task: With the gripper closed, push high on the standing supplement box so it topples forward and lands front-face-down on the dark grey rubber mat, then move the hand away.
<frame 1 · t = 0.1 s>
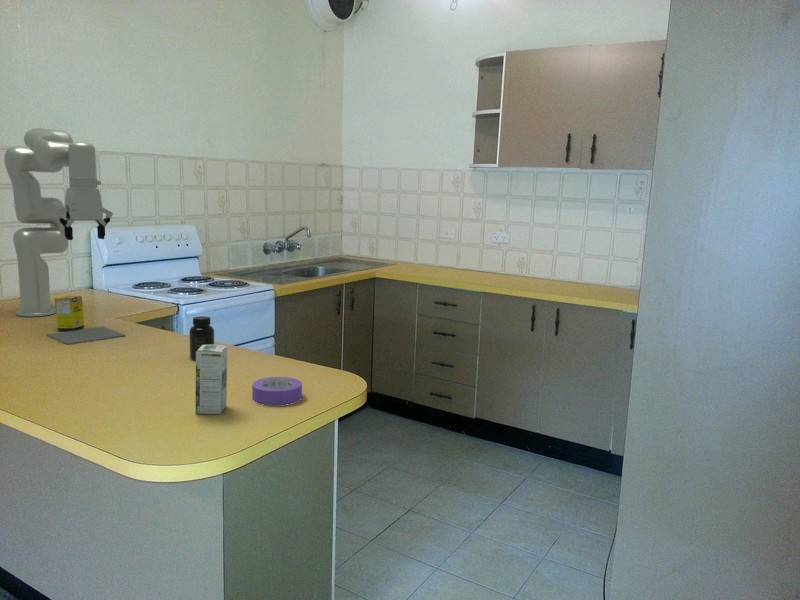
hand: (85, 239, 196), 31 cm above the table, tool pointing down, fingers open, 9 cm apart
supplement box: (71, 329, 208), on the table, touching mat
mat: (86, 335, 200), on the table
masking tape: (277, 399, 150), on the table
syrup box: (211, 411, 139), on the table
supplement bottle: (202, 358, 181), on the table
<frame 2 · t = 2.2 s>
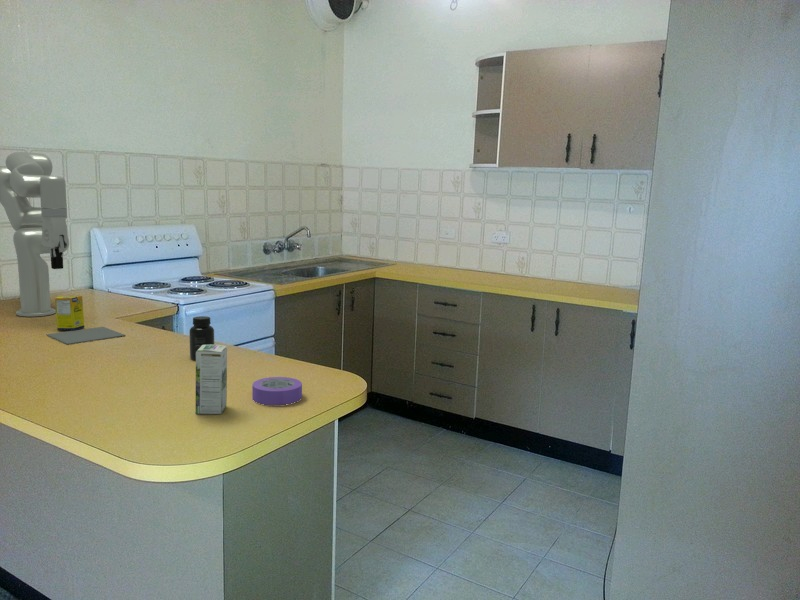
hand: (57, 268, 210), 20 cm above the table, tool pointing down, fingers closed
nothing on the table moved.
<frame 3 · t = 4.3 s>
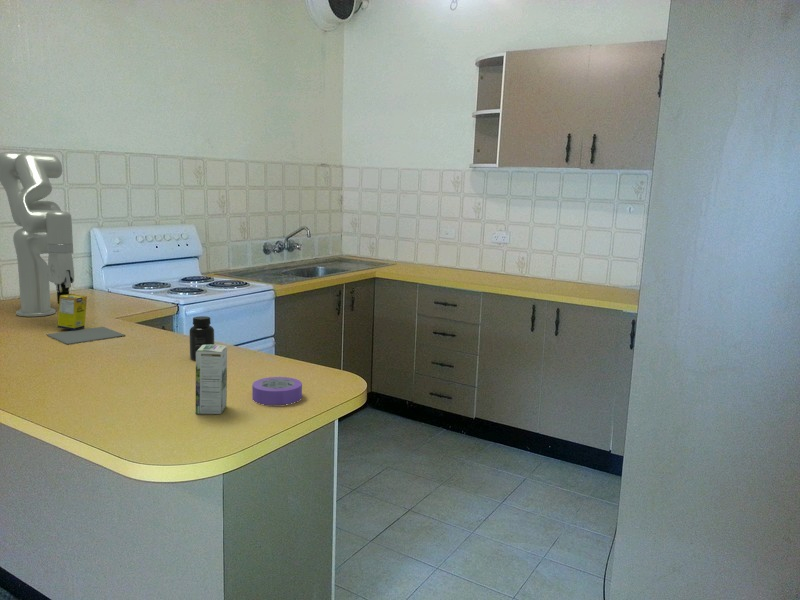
hand: (63, 303, 210), 8 cm above the table, tool pointing down, fingers closed
supplement box: (71, 328, 208), on the table, touching gripper, mat
everything else where it was.
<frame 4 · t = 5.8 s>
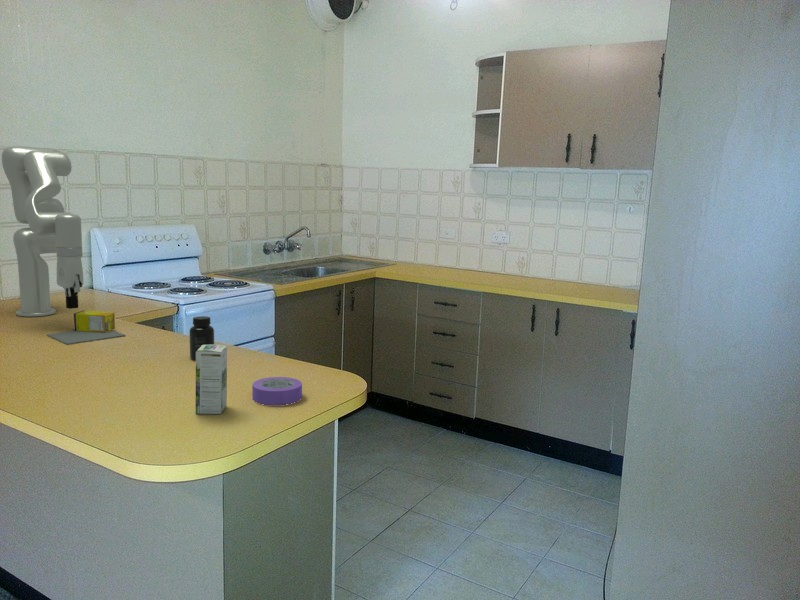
hand: (72, 307, 205), 8 cm above the table, tool pointing down, fingers closed
supplement box: (78, 320, 207), point 3 cm above the table, touching mat
everything else where it was.
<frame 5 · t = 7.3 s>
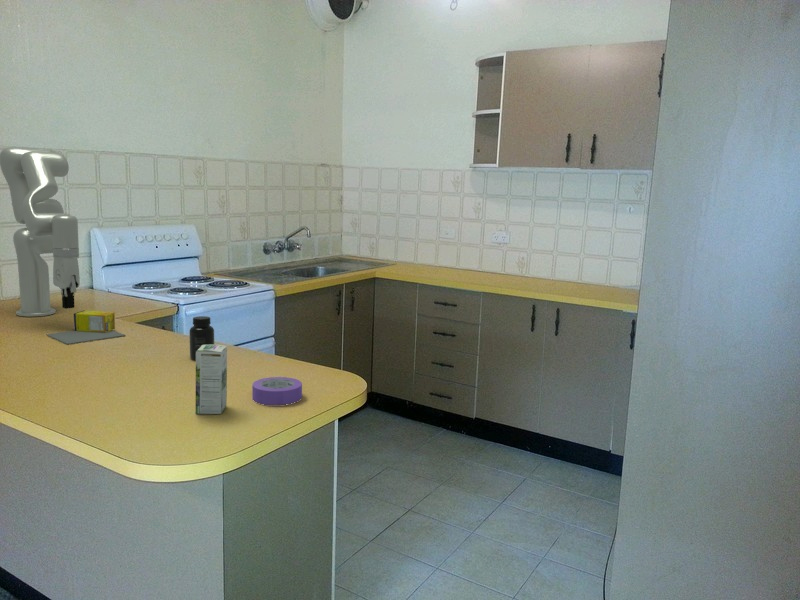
hand: (68, 307, 207), 7 cm above the table, tool pointing down, fingers closed
nothing on the table moved.
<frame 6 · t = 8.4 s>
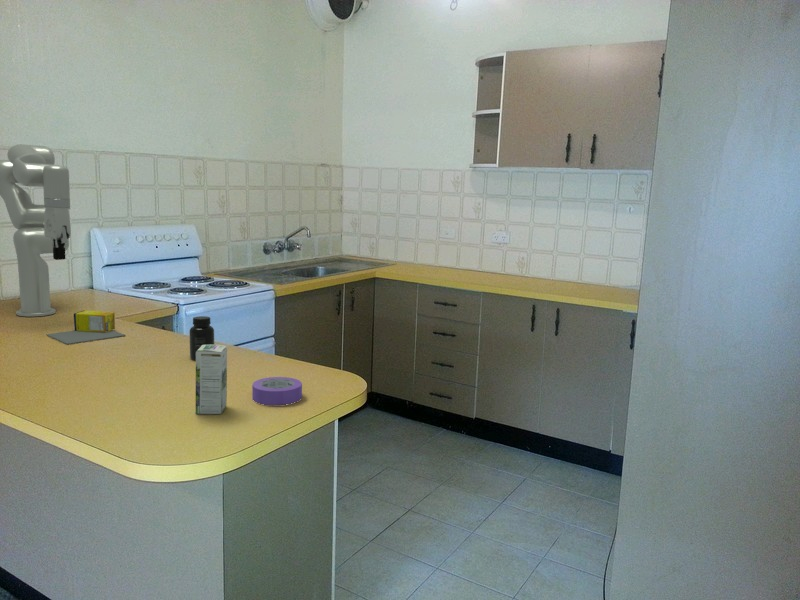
hand: (59, 259, 208), 23 cm above the table, tool pointing down, fingers closed
nothing on the table moved.
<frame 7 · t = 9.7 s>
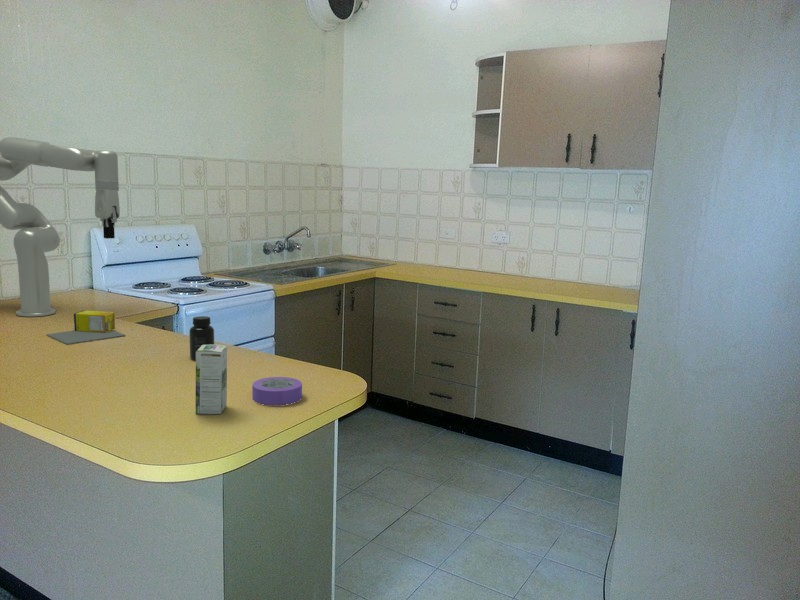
hand: (109, 238, 224), 29 cm above the table, tool pointing down, fingers closed
nothing on the table moved.
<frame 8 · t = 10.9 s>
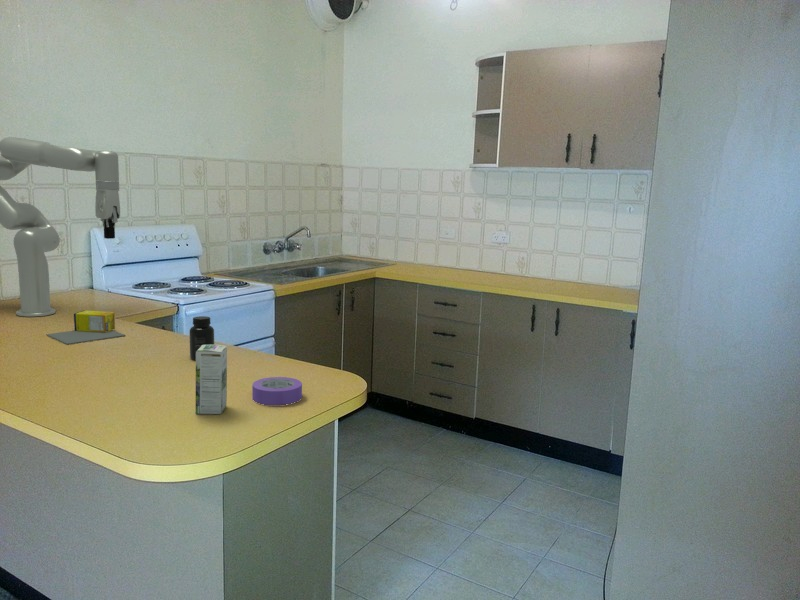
hand: (109, 238, 224), 29 cm above the table, tool pointing down, fingers closed
nothing on the table moved.
at the end: supplement box tilted 90°; supplement box inside the target area on the mat (7.8 cm from its centre), point 3.4 cm above the mat's base; the gripper is holding nothing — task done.
